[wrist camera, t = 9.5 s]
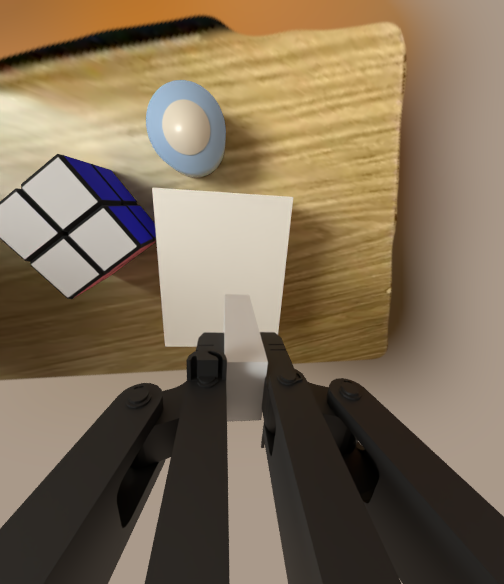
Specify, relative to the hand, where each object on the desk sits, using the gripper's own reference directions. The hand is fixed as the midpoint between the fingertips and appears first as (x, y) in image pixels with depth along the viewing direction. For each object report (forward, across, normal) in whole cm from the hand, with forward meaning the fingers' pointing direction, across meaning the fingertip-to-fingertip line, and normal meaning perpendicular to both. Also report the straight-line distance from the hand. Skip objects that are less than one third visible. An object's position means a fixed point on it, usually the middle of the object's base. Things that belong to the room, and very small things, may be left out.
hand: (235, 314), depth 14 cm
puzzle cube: (+22, -16, +3) cm, 27 cm away
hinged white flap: (+13, -1, -1) cm, 13 cm away
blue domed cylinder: (+21, -5, +14) cm, 26 cm away
